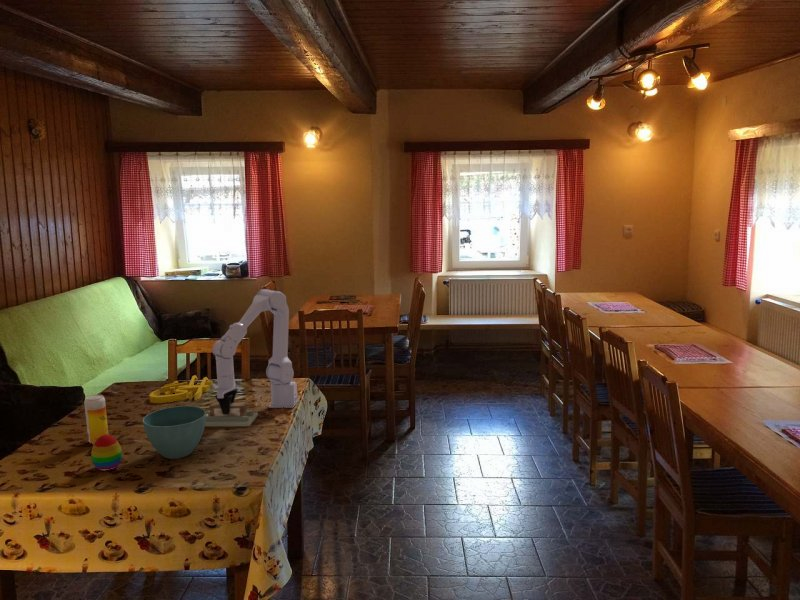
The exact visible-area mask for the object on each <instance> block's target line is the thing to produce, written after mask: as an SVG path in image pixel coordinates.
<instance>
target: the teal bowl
mask: <svg viewBox="0 0 800 600" xmlns="http://www.w3.org/2000/svg"><path fill="white" fill-rule="evenodd" d="M206 415H207V414H206V410H205V409H204V408H203V407H199V406H195V405H194V406H193V405H179V406H178V405H177V406H171V407H170V406H169V407H165V408H160V409H158V410H155V411H152V412H150V413H148V414H146V416H144V417H143V418H142V424H143V429H144V432H145V434H146V437H147V439H148V441H149V442H150V444H151V446H152V447H153V449H155V450H156V452H157V453H159V454H160V455H161V456H162V457H164V458H166V459H171V460H173V459H174V460H176V459H181V458H182V459H183V458H184V457H187V456H189V455H191V454H192V453H193V452H194V450H195V449H196V447H197V446H198V445H199V442H200V441H201V439H202V436H203V434H204V431H205V427H206V426H205V421H206Z"/></svg>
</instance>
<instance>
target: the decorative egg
mask: <svg viewBox="0 0 800 600" xmlns="http://www.w3.org/2000/svg"><path fill="white" fill-rule="evenodd" d="M92 445H93V446H92V447H91V455H90V457H91V462H92V464H93V466H94V468H95V469H97V470H98V469H111V468H114V467H116V468H118V467H119V465H120V463H121V462H122V459H123V458H122V457H123V451H122V447H121V445H120V443H119V441H118V440H117V439H116V437H114V436H113V435H111V434H108V435H107V434H105V435H102V436H100V437H99V438H98V439H97V440H96V442H95V443H94V444H92ZM117 466H118V467H117Z"/></svg>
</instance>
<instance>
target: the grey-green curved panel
mask: <svg viewBox="0 0 800 600" xmlns="http://www.w3.org/2000/svg"><path fill="white" fill-rule="evenodd" d="M258 416H259V414H258V412H254V410H250V409H249V410H248V409H247V416H210V410H208V411H207V414H206V421H205V427H250V426H251V425H252V424H253V422H254V421H255V420H256V418H257V417H258Z"/></svg>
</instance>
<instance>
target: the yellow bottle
mask: <svg viewBox="0 0 800 600" xmlns="http://www.w3.org/2000/svg"><path fill="white" fill-rule="evenodd" d="M83 403H84V405H83V406H84V412H85V413H84V414H85V422H86V424H85V425H86V432H87V439H88V440H87V441H88V442H89V443H90V444H91V443H92V444H91V445H94V443H95V442H96V440H97V439H98V438H99V437H100V436H102V435H105V434H107V435H109V426H108V425H109V424H108V416H107V408H106V407H107V405H106V398H105V397H104V395H103V394H94V395H93V394H92V395H88V396H86V397H85V398H84V402H83Z"/></svg>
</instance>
